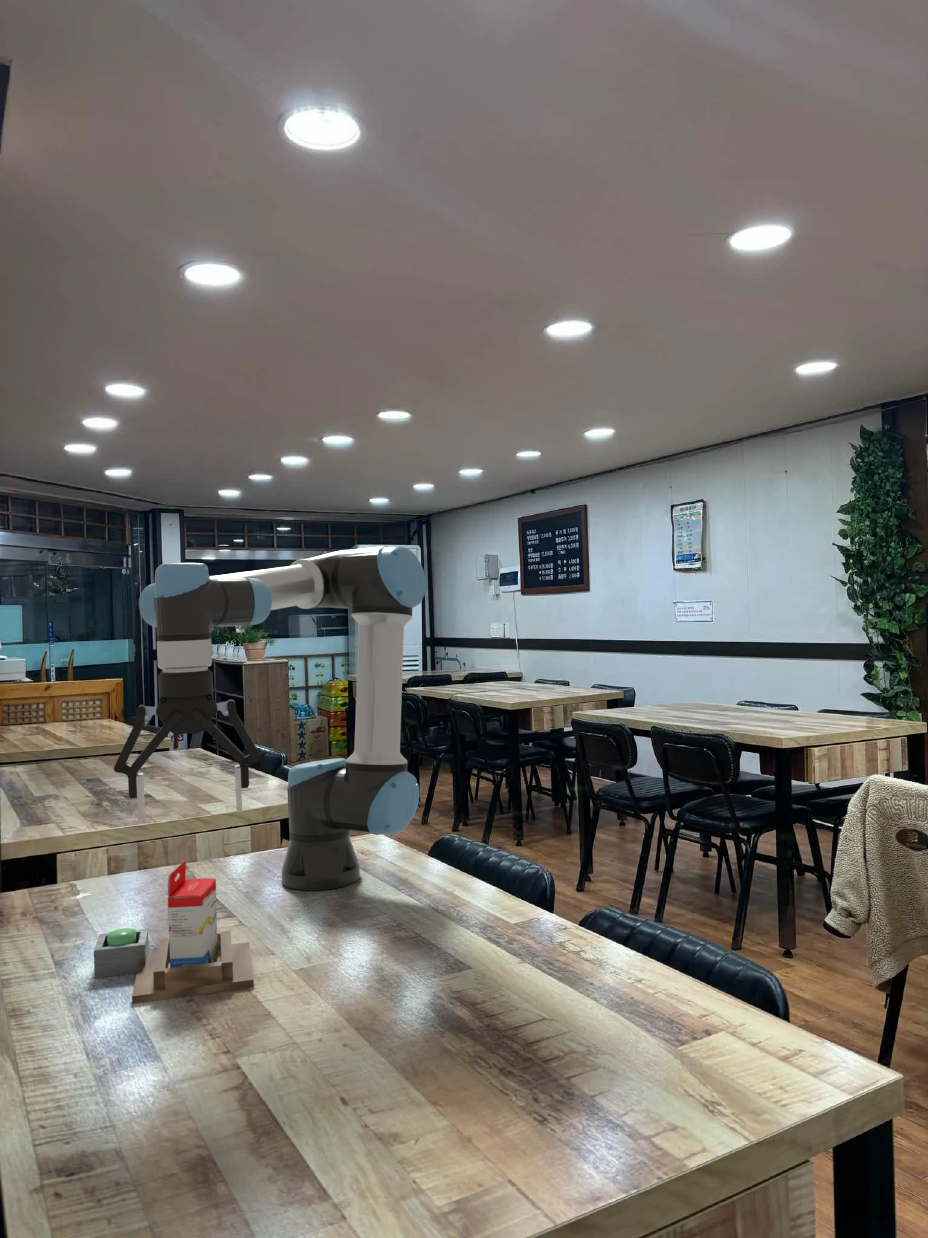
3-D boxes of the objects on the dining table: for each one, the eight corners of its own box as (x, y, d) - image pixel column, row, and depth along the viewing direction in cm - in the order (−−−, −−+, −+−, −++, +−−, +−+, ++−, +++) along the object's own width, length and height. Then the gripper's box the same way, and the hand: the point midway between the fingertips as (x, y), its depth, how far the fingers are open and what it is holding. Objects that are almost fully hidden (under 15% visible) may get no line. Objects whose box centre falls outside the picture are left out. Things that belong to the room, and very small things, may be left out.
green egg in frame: (148, 954, 137) (148, 928, 137) (145, 971, 131) (144, 944, 131) (100, 960, 136) (99, 934, 135) (94, 978, 129) (93, 951, 129)
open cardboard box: (249, 948, 139) (248, 926, 139) (253, 986, 124) (253, 962, 124) (140, 962, 134) (139, 939, 134) (132, 1003, 120) (131, 978, 120)
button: (137, 945, 136) (136, 927, 136) (135, 954, 132) (134, 936, 132) (109, 948, 134) (108, 930, 134) (106, 958, 131) (105, 939, 131)
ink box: (204, 978, 125) (201, 874, 125) (169, 980, 125) (165, 876, 125) (219, 955, 134) (216, 858, 133) (186, 956, 133) (182, 859, 133)
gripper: (271, 663, 136) (276, 801, 136) (96, 672, 129) (102, 818, 129) (274, 666, 129) (280, 812, 129) (89, 676, 122) (95, 830, 122)
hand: (191, 815), depth 129 cm, fingers open, 13 cm apart
